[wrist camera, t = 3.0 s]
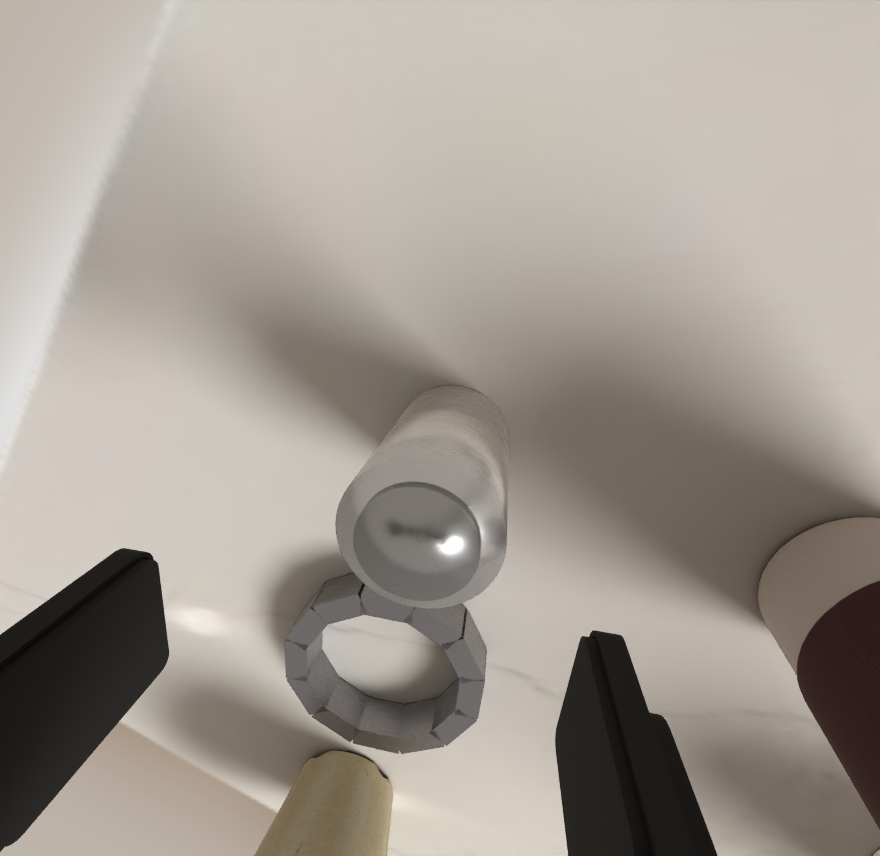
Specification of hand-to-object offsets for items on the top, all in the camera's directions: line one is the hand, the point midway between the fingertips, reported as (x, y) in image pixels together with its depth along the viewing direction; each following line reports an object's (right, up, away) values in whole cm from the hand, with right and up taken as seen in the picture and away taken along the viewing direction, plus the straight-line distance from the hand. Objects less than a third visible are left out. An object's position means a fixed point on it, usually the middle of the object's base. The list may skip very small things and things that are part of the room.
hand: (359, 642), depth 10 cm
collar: (-1, -8, +15) cm, 17 cm away
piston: (+2, +4, +11) cm, 12 cm away
